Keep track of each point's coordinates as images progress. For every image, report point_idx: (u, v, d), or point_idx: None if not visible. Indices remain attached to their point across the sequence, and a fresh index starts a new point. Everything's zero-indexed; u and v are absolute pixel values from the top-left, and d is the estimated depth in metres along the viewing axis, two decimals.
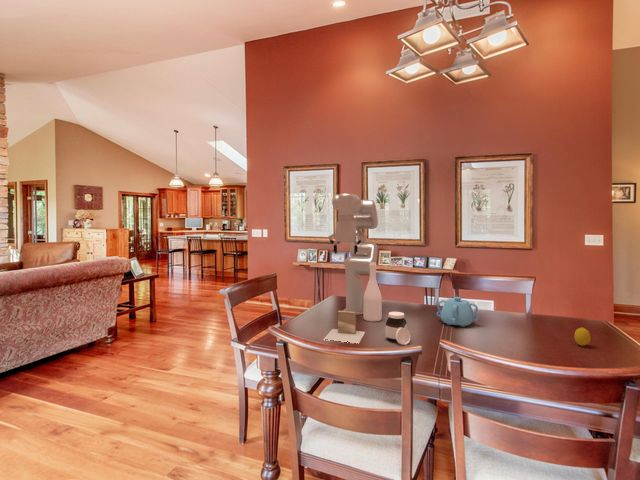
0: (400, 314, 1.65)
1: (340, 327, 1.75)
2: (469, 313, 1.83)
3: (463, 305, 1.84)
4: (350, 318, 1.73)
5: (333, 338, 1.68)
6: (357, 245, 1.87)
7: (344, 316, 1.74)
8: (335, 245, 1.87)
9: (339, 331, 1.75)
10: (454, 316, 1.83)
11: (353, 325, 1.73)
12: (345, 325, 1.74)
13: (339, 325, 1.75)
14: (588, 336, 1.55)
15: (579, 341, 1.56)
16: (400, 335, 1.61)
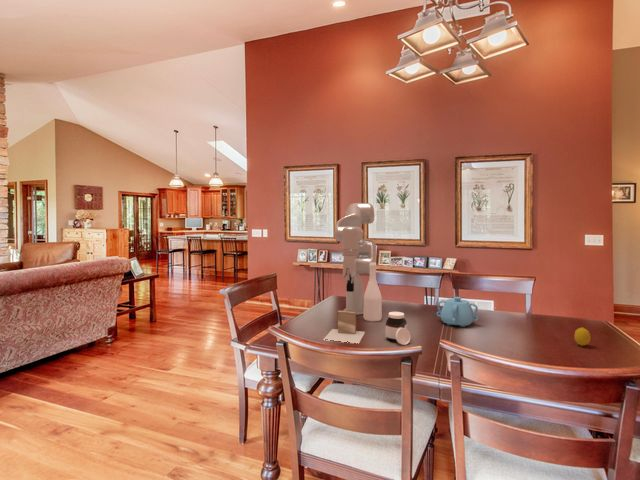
0: (400, 314, 1.65)
1: (340, 327, 1.75)
2: (469, 313, 1.83)
3: (463, 305, 1.84)
4: (350, 318, 1.73)
5: (333, 338, 1.68)
6: None
7: (344, 316, 1.74)
8: None
9: (339, 331, 1.75)
10: (454, 316, 1.83)
11: (353, 325, 1.73)
12: (345, 325, 1.74)
13: (339, 325, 1.75)
14: (588, 336, 1.55)
15: (579, 341, 1.56)
16: (400, 335, 1.61)
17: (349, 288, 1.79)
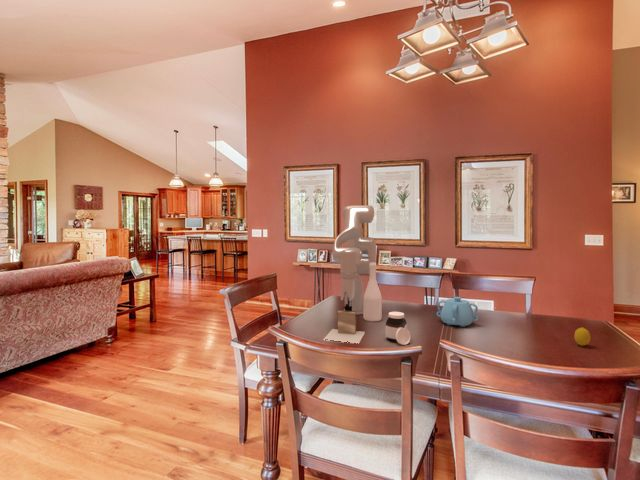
0: (400, 314, 1.65)
1: (340, 327, 1.75)
2: (469, 313, 1.83)
3: (463, 305, 1.84)
4: (350, 318, 1.73)
5: (333, 338, 1.68)
6: None
7: (344, 316, 1.74)
8: None
9: (339, 331, 1.75)
10: (454, 316, 1.83)
11: (353, 325, 1.73)
12: (345, 325, 1.74)
13: (339, 325, 1.75)
14: (588, 336, 1.55)
15: (579, 341, 1.56)
16: (400, 335, 1.61)
17: None
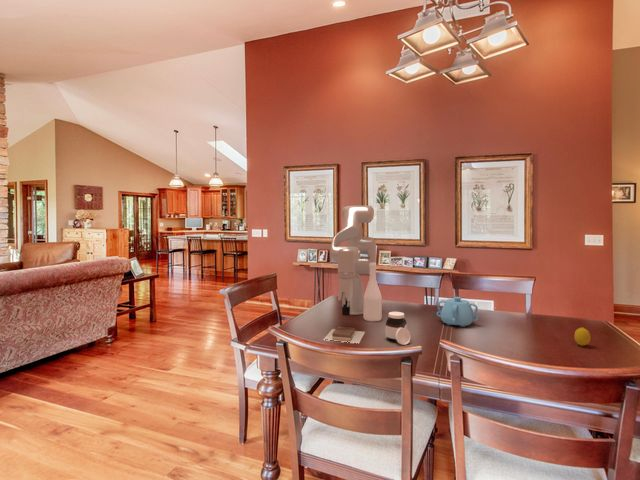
0: (400, 314, 1.65)
1: None
2: (469, 313, 1.83)
3: (463, 305, 1.84)
4: None
5: None
6: None
7: None
8: None
9: None
10: (454, 316, 1.83)
11: None
12: None
13: None
14: (588, 336, 1.55)
15: (579, 341, 1.56)
16: (400, 335, 1.61)
17: (345, 312, 1.72)
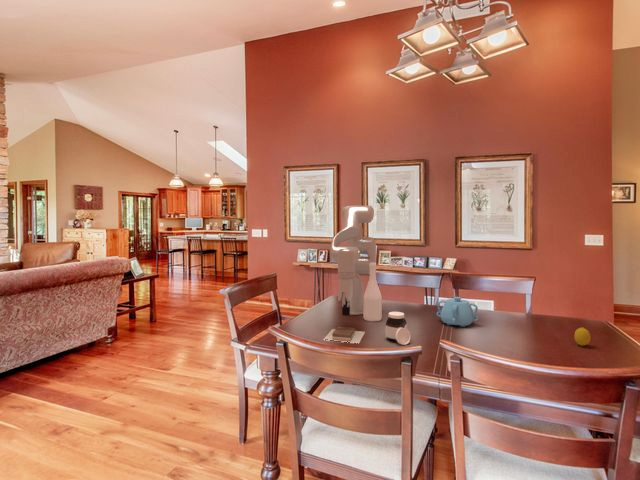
0: (400, 314, 1.65)
1: None
2: (469, 313, 1.83)
3: (463, 305, 1.84)
4: None
5: None
6: None
7: None
8: None
9: None
10: (454, 316, 1.83)
11: None
12: None
13: None
14: (588, 336, 1.55)
15: (579, 341, 1.56)
16: (400, 335, 1.61)
17: (345, 312, 1.72)
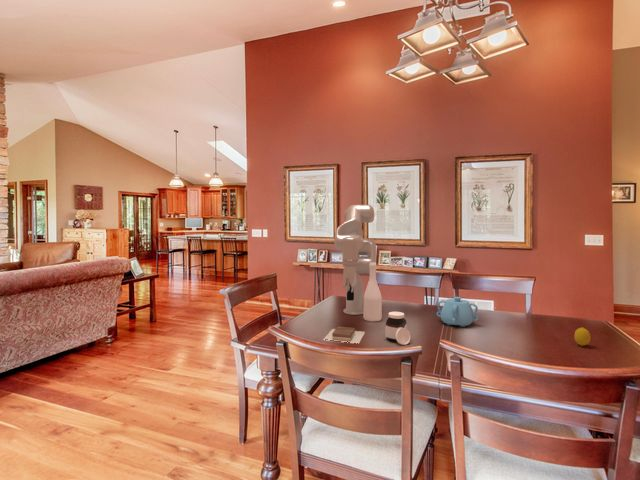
0: (400, 314, 1.65)
1: None
2: (469, 313, 1.83)
3: (463, 305, 1.84)
4: None
5: None
6: None
7: None
8: None
9: None
10: (454, 316, 1.83)
11: None
12: None
13: None
14: (588, 336, 1.55)
15: (579, 341, 1.56)
16: (400, 335, 1.61)
17: (349, 297, 1.81)
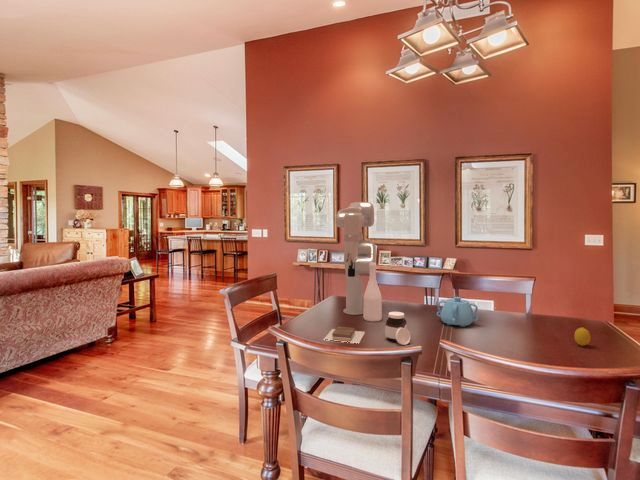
0: (400, 314, 1.65)
1: None
2: (469, 313, 1.83)
3: (463, 305, 1.84)
4: None
5: None
6: None
7: None
8: None
9: None
10: (454, 316, 1.83)
11: None
12: None
13: None
14: (588, 336, 1.55)
15: (579, 341, 1.56)
16: (400, 335, 1.61)
17: (350, 273, 1.82)
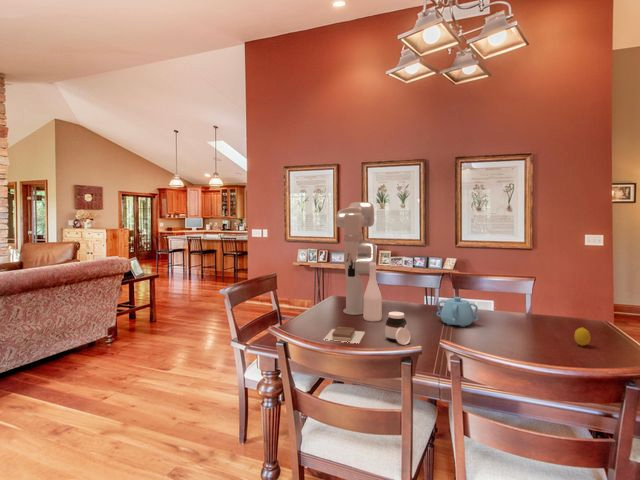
0: (400, 314, 1.65)
1: None
2: (469, 313, 1.83)
3: (463, 305, 1.84)
4: None
5: None
6: None
7: None
8: None
9: None
10: (454, 316, 1.83)
11: None
12: None
13: None
14: (588, 336, 1.55)
15: (579, 341, 1.56)
16: (400, 335, 1.61)
17: (350, 273, 1.82)
